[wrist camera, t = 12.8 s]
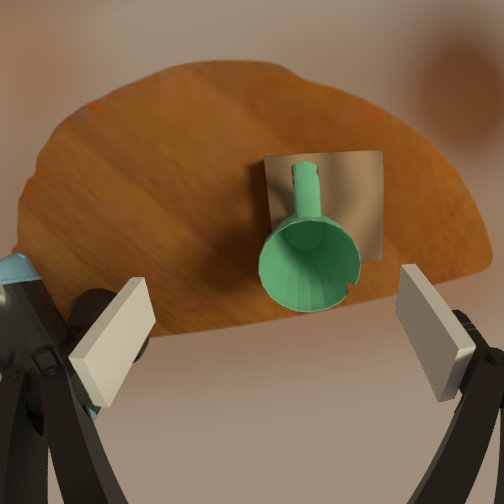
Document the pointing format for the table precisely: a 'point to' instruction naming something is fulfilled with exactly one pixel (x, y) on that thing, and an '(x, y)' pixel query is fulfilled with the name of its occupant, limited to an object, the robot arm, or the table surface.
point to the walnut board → (336, 193)
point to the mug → (308, 252)
